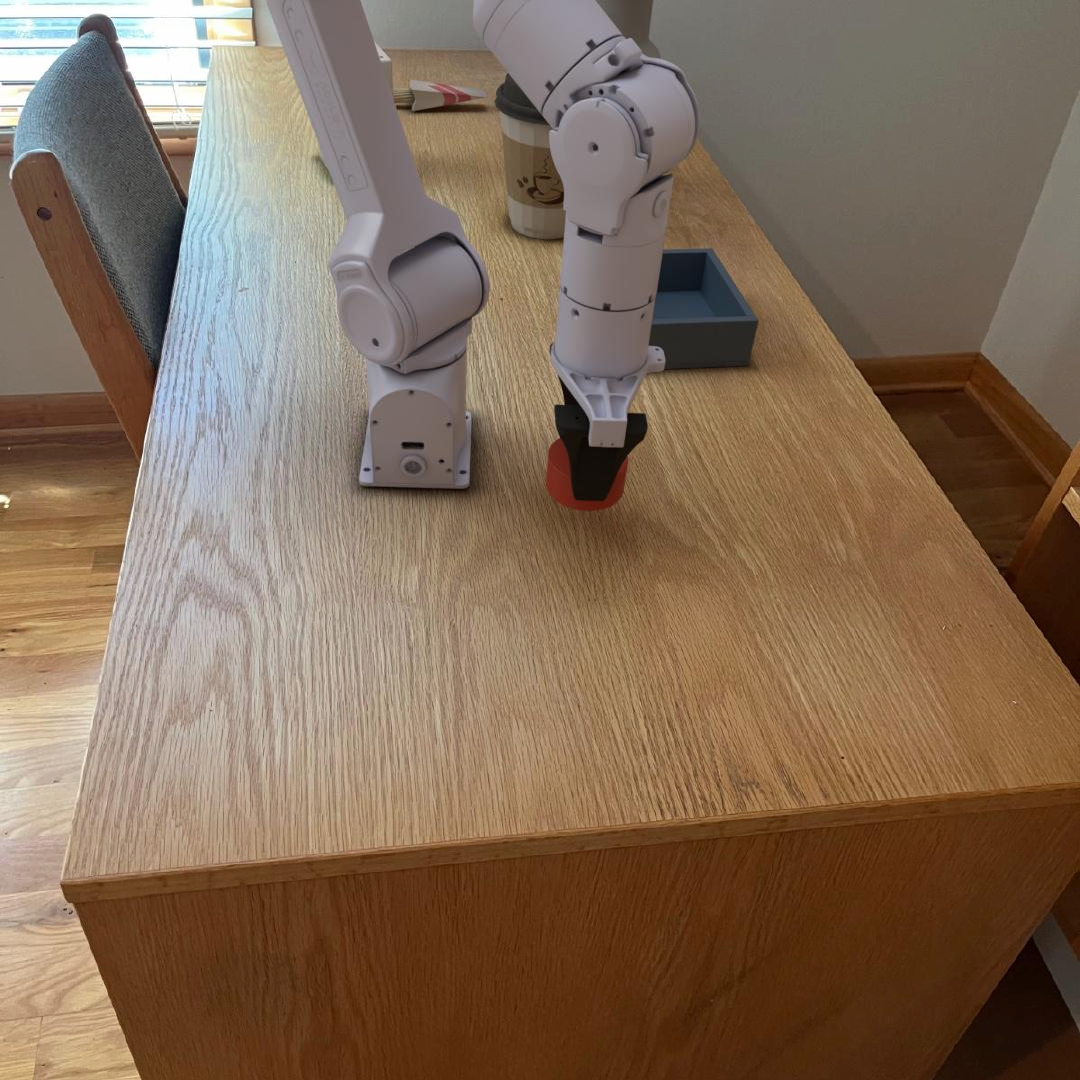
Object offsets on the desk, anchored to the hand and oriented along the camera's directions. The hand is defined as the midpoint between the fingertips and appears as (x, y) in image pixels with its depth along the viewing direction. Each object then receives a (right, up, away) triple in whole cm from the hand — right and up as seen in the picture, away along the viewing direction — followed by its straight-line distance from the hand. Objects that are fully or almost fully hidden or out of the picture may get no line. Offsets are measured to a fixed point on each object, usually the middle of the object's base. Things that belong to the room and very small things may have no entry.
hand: (586, 470), depth 69 cm
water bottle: (+4, +36, +49) cm, 60 cm away
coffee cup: (-3, +29, +40) cm, 49 cm away
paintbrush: (-20, +53, +63) cm, 84 cm away
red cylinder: (0, -1, +1) cm, 1 cm away
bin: (+8, +15, +25) cm, 30 cm away
